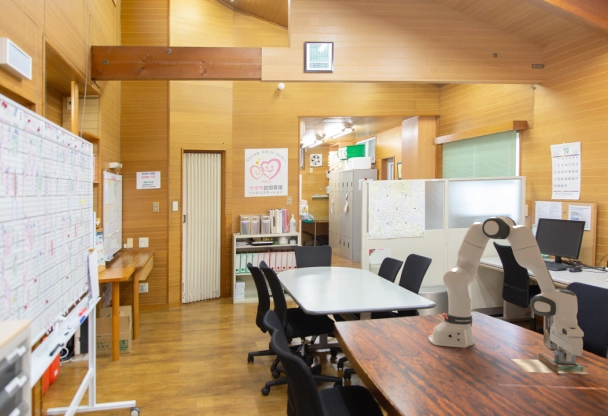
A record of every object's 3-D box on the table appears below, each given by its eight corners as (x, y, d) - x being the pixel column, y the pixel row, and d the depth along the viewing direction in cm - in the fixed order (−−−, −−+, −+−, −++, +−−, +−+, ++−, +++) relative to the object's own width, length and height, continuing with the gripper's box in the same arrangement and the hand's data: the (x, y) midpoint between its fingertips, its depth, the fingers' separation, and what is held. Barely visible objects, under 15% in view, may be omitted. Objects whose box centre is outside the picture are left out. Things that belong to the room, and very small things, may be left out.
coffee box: (563, 350, 209) (564, 317, 209) (549, 349, 211) (549, 316, 210) (556, 344, 218) (557, 312, 218) (543, 343, 219) (543, 311, 219)
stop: (575, 363, 184) (576, 353, 184) (558, 363, 185) (559, 352, 184) (570, 360, 188) (571, 350, 188) (554, 359, 189) (554, 349, 188)
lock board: (524, 373, 180) (524, 364, 180) (510, 360, 195) (510, 351, 195) (589, 376, 178) (589, 366, 178) (570, 362, 193) (570, 353, 193)
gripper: (546, 320, 197) (545, 349, 197) (570, 333, 176) (569, 367, 176) (560, 320, 196) (560, 350, 196) (586, 334, 176) (585, 367, 176)
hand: (564, 358), depth 186 cm, fingers closed on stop, 4 cm apart
